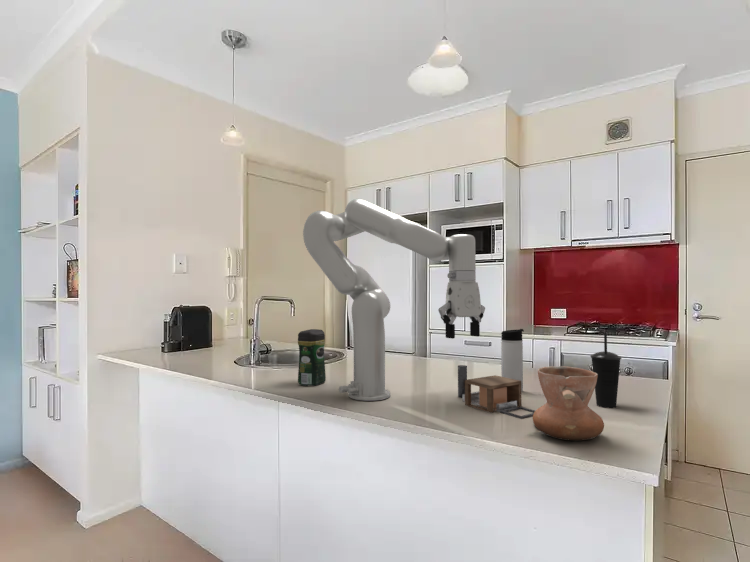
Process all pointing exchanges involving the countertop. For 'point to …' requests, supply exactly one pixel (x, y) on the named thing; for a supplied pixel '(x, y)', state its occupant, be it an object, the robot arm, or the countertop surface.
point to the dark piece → (518, 415)
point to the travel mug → (512, 355)
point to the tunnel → (491, 384)
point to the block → (498, 396)
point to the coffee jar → (311, 357)
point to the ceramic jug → (567, 404)
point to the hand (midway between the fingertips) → (462, 337)
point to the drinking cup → (606, 376)
